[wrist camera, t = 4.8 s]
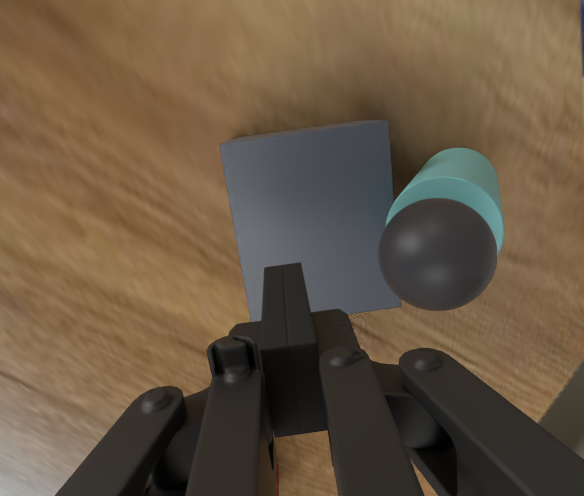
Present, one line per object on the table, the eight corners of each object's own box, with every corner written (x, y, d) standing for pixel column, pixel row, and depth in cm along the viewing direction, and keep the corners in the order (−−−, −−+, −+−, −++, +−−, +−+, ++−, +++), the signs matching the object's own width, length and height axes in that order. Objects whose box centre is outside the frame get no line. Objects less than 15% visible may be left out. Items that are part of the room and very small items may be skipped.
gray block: (359, 120, 34) (388, 120, 25) (371, 263, 37) (401, 307, 28) (232, 137, 34) (218, 144, 25) (256, 279, 37) (251, 328, 28)
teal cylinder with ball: (482, 141, 34) (706, 166, 16) (482, 214, 36) (685, 307, 18) (330, 163, 35) (389, 210, 17) (338, 234, 36) (398, 347, 18)
